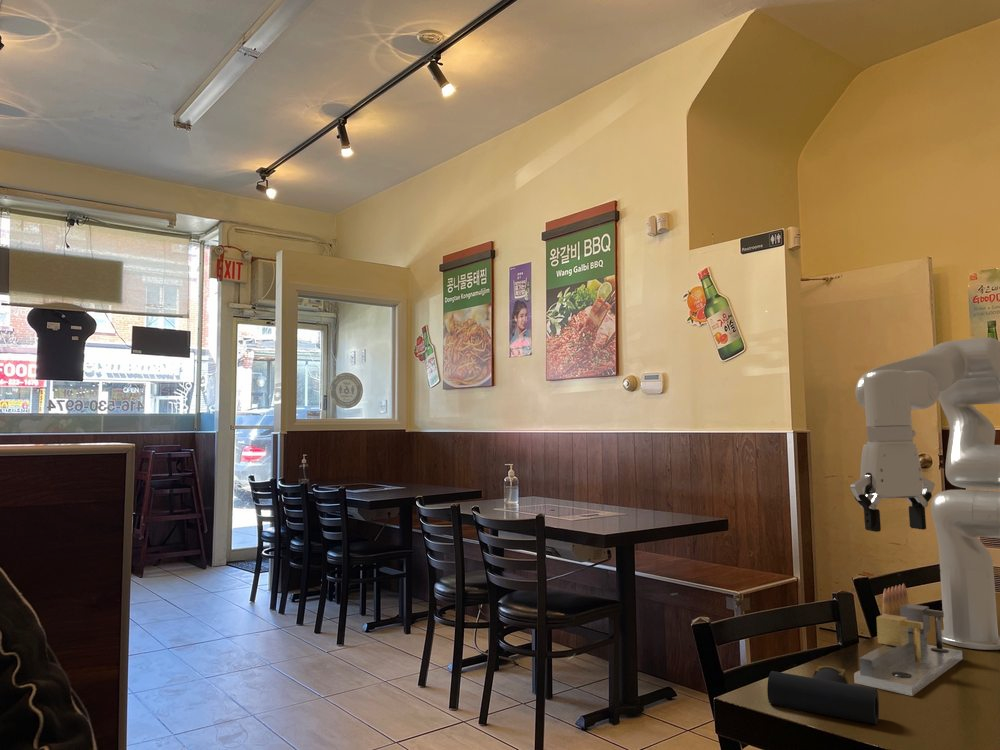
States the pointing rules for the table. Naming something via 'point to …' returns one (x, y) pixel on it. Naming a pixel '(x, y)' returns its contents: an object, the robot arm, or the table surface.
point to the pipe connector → (824, 694)
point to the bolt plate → (905, 666)
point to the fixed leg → (923, 619)
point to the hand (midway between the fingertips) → (895, 529)
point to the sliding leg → (898, 632)
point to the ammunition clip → (894, 600)
